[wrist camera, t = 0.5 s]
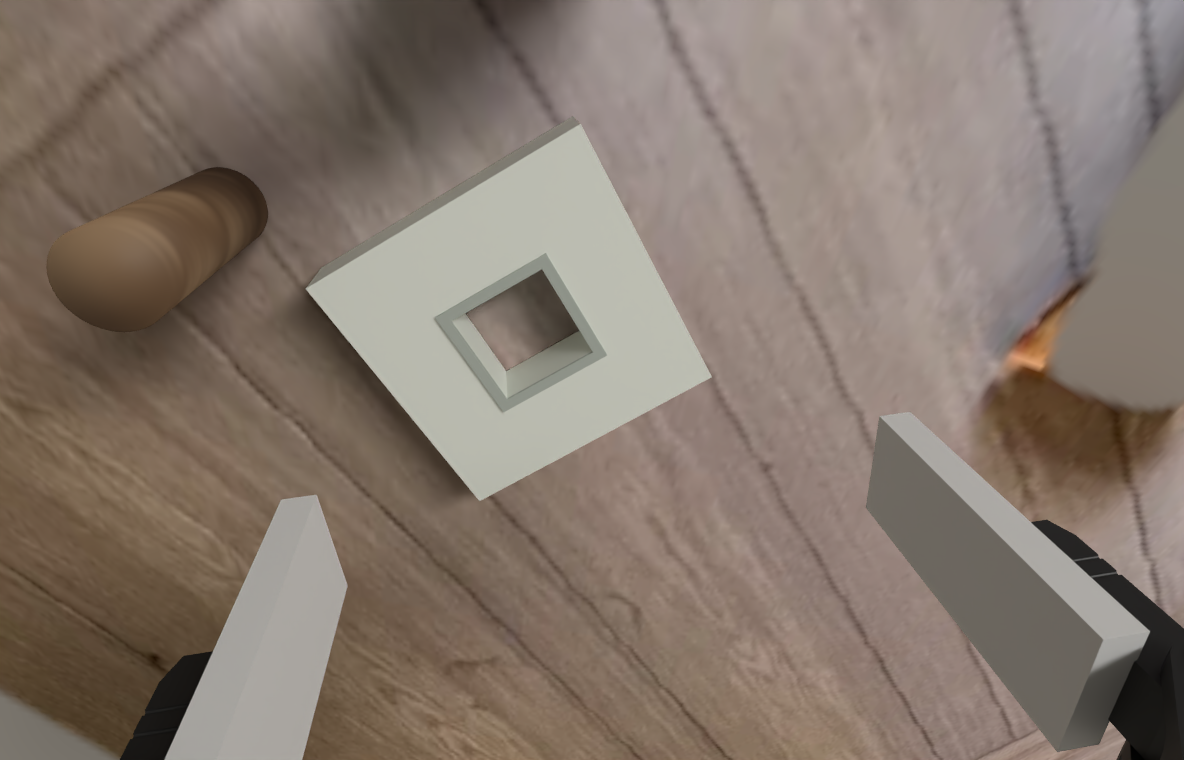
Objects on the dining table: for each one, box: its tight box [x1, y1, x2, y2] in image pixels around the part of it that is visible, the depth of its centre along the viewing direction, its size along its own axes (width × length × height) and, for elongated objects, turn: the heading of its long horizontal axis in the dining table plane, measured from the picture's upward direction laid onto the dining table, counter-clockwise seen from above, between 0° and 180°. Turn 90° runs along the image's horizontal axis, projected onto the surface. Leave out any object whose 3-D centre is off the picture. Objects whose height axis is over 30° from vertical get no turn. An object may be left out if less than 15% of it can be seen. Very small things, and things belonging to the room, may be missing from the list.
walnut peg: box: [47, 167, 268, 332], centre depth 30 cm, size 4×4×12 cm
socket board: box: [306, 116, 711, 501], centre depth 38 cm, size 16×16×4 cm
